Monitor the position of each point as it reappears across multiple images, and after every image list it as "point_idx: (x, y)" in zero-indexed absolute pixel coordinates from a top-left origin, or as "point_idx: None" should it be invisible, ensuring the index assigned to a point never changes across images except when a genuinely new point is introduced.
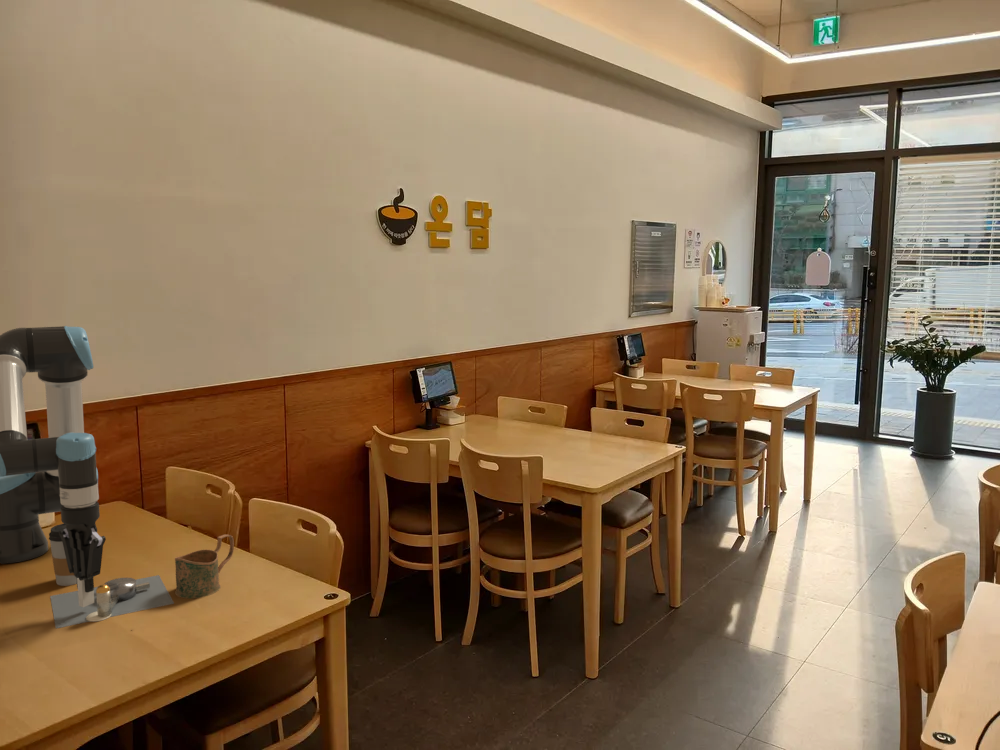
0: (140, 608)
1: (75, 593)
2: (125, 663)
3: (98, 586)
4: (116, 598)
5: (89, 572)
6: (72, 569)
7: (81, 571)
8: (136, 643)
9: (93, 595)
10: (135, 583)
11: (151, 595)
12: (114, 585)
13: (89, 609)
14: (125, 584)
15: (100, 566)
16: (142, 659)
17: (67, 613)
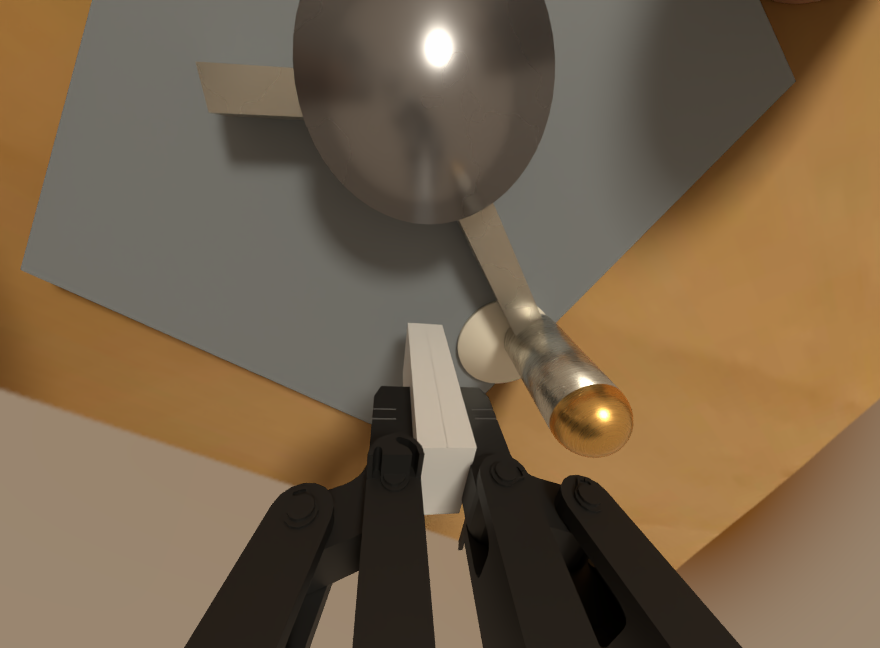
0: (636, 211)
1: (106, 181)
2: (719, 450)
3: (212, 104)
4: (502, 227)
5: (583, 589)
6: (329, 585)
7: (473, 586)
8: (708, 383)
9: (447, 347)
10: (542, 12)
11: (613, 10)
12: (426, 149)
13: (407, 310)
14: (496, 95)
15: (673, 573)
16: (754, 427)
17: (352, 370)
